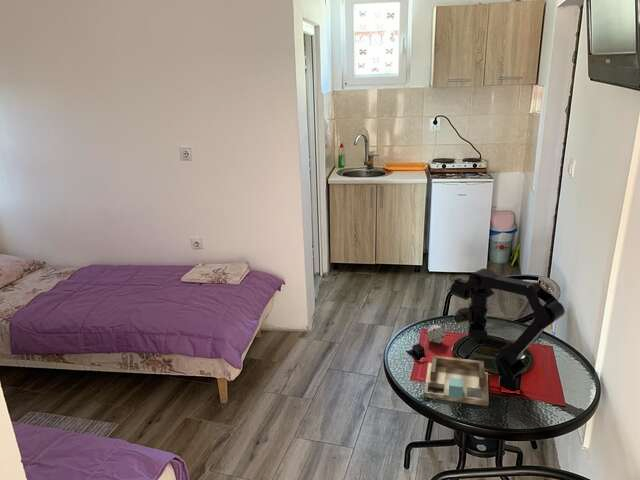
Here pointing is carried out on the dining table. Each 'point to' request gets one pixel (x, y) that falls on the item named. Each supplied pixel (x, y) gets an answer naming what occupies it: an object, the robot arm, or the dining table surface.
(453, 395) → the block
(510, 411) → the dining table surface
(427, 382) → the board
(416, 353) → the black box
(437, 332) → the game die
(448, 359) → the cubby
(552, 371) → the dining table surface
